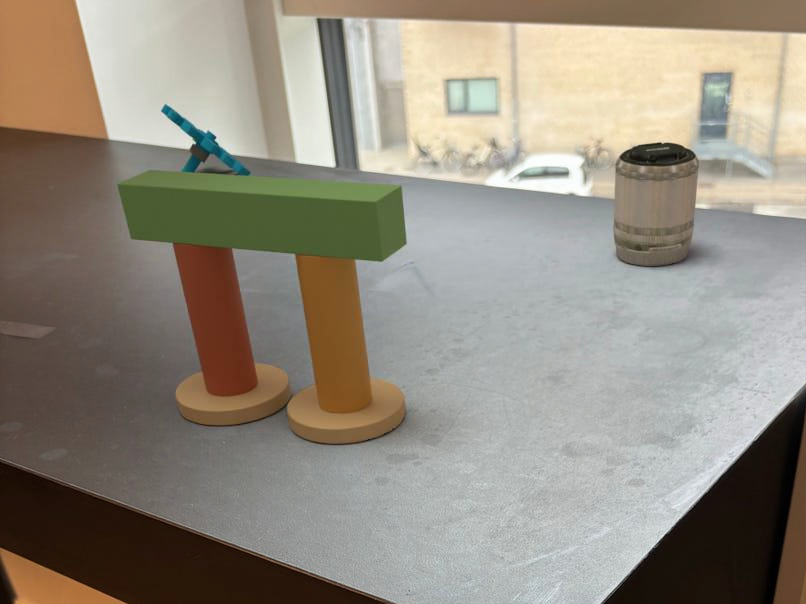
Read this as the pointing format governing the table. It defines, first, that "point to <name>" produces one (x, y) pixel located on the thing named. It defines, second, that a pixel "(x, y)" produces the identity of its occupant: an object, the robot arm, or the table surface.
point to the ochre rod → (339, 361)
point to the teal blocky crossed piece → (202, 145)
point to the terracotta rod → (223, 345)
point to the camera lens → (655, 203)
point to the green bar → (266, 214)
